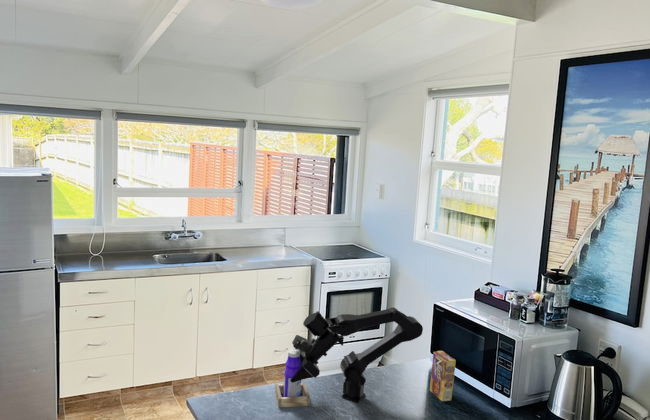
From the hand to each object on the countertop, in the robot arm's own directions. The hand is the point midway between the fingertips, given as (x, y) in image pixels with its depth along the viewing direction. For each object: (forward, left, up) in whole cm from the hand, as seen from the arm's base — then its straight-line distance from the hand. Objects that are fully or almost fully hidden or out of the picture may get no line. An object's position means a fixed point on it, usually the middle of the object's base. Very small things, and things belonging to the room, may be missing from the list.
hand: (289, 375), depth 191 cm
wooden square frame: (-1, -1, -9) cm, 9 cm away
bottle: (-1, -1, -9) cm, 9 cm away
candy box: (-44, -34, -9) cm, 56 cm away
